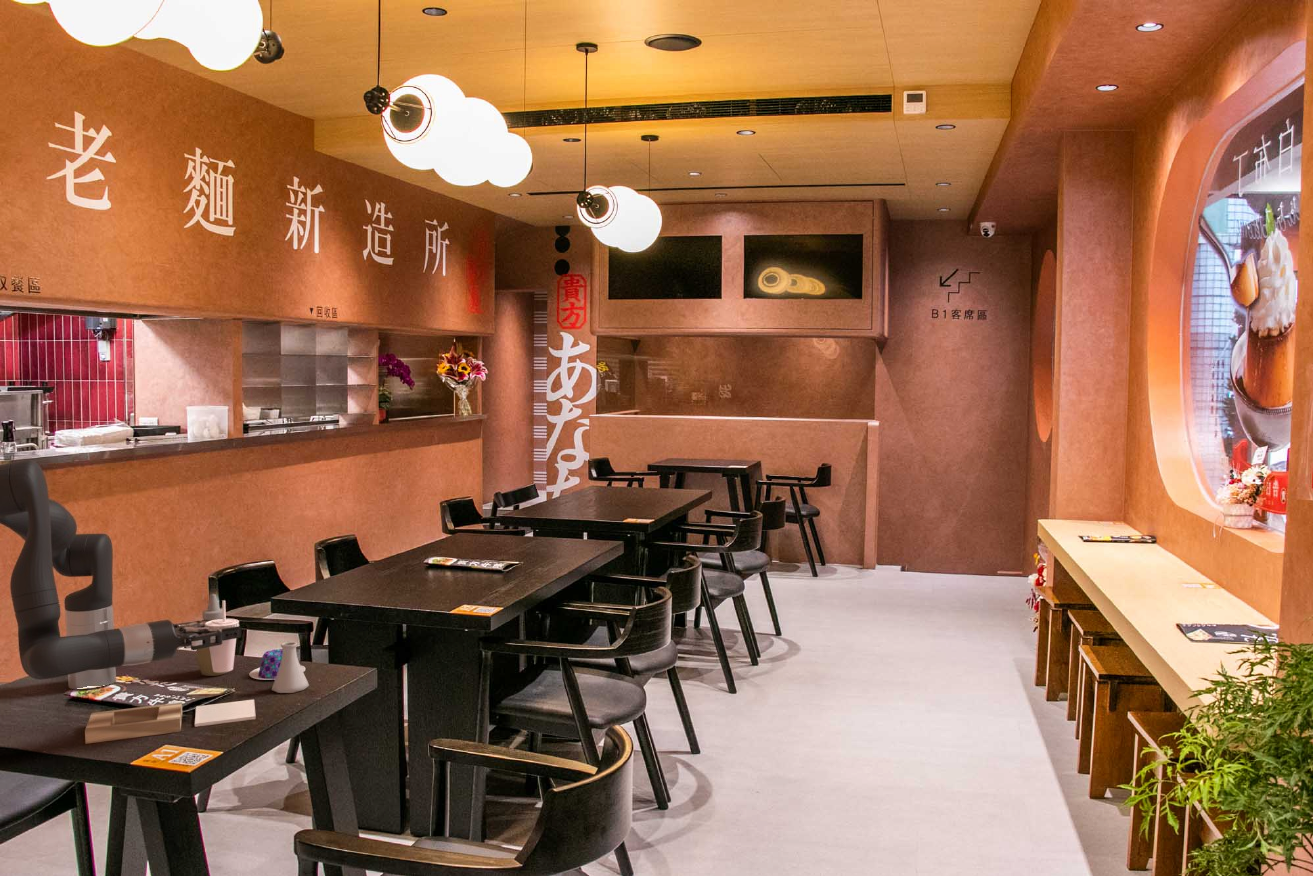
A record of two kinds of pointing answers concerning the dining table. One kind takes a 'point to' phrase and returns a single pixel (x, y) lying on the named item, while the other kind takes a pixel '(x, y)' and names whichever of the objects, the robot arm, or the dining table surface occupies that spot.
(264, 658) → the pudding
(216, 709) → the ceramic pad
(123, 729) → the collar
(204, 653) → the squeeze bottle
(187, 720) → the dining table surface
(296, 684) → the flask
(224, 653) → the smoothie
